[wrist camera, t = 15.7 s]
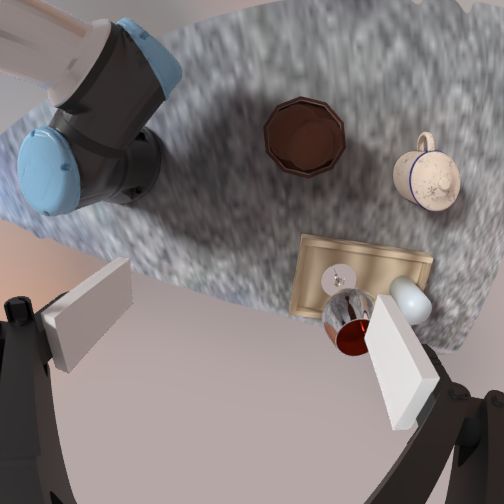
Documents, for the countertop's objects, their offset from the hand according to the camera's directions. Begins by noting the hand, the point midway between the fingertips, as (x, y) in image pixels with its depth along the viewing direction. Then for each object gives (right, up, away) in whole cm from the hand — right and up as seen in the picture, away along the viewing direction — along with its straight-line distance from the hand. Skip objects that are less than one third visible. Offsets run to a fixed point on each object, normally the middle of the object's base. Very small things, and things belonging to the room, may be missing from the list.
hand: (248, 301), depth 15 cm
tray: (+20, -3, +37) cm, 42 cm away
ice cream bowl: (+8, +20, +31) cm, 38 cm away
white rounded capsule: (+27, -4, +36) cm, 45 cm away
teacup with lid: (+28, +17, +30) cm, 44 cm away
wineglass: (+15, -2, +37) cm, 40 cm away
